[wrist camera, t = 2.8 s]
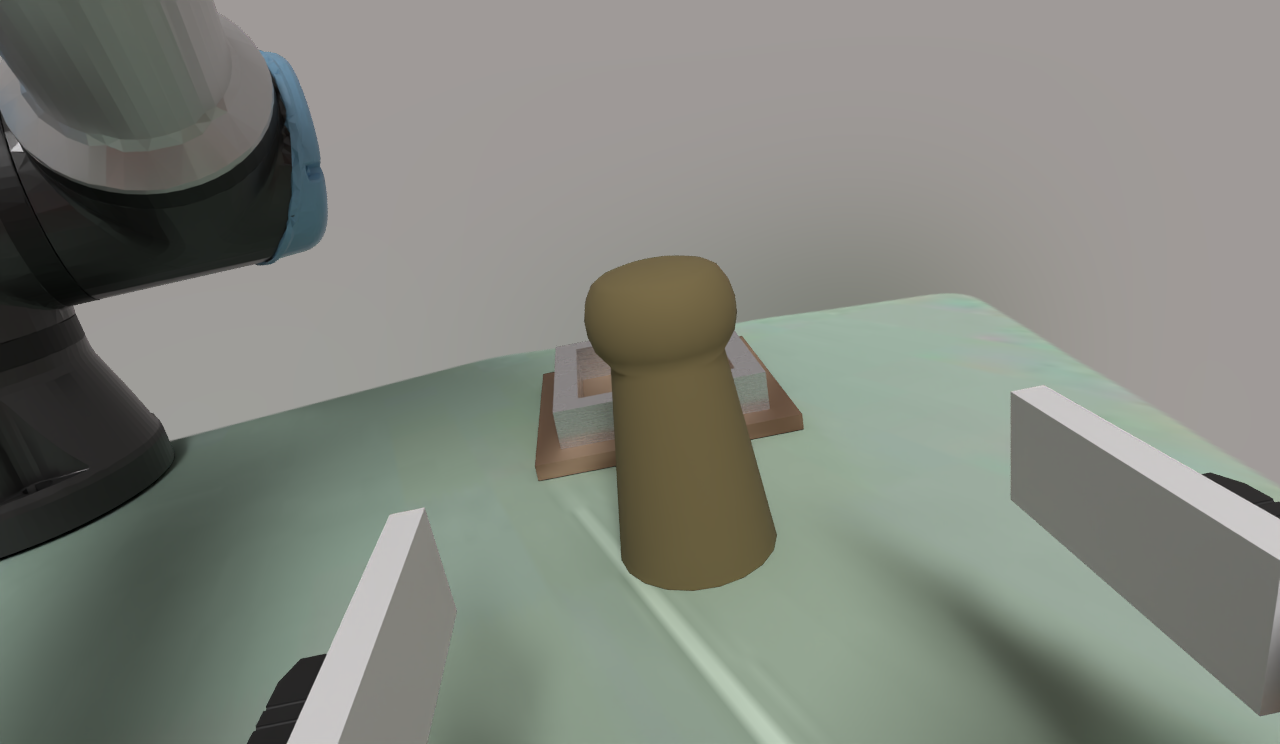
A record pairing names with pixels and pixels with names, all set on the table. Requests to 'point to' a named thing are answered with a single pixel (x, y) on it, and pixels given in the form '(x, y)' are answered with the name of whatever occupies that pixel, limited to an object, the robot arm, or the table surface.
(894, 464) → the table surface
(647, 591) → the table surface
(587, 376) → the coaster
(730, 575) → the cork
